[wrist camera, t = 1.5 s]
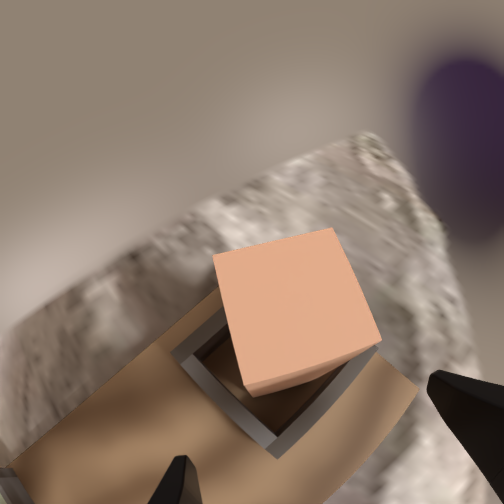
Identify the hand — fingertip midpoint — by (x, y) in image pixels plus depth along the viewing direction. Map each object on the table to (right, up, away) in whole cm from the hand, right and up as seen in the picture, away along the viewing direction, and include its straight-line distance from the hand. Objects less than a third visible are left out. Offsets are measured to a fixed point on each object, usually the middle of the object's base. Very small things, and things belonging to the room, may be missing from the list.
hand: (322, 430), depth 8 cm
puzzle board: (-11, -13, +6) cm, 18 cm away
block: (-1, -2, +10) cm, 11 cm away
